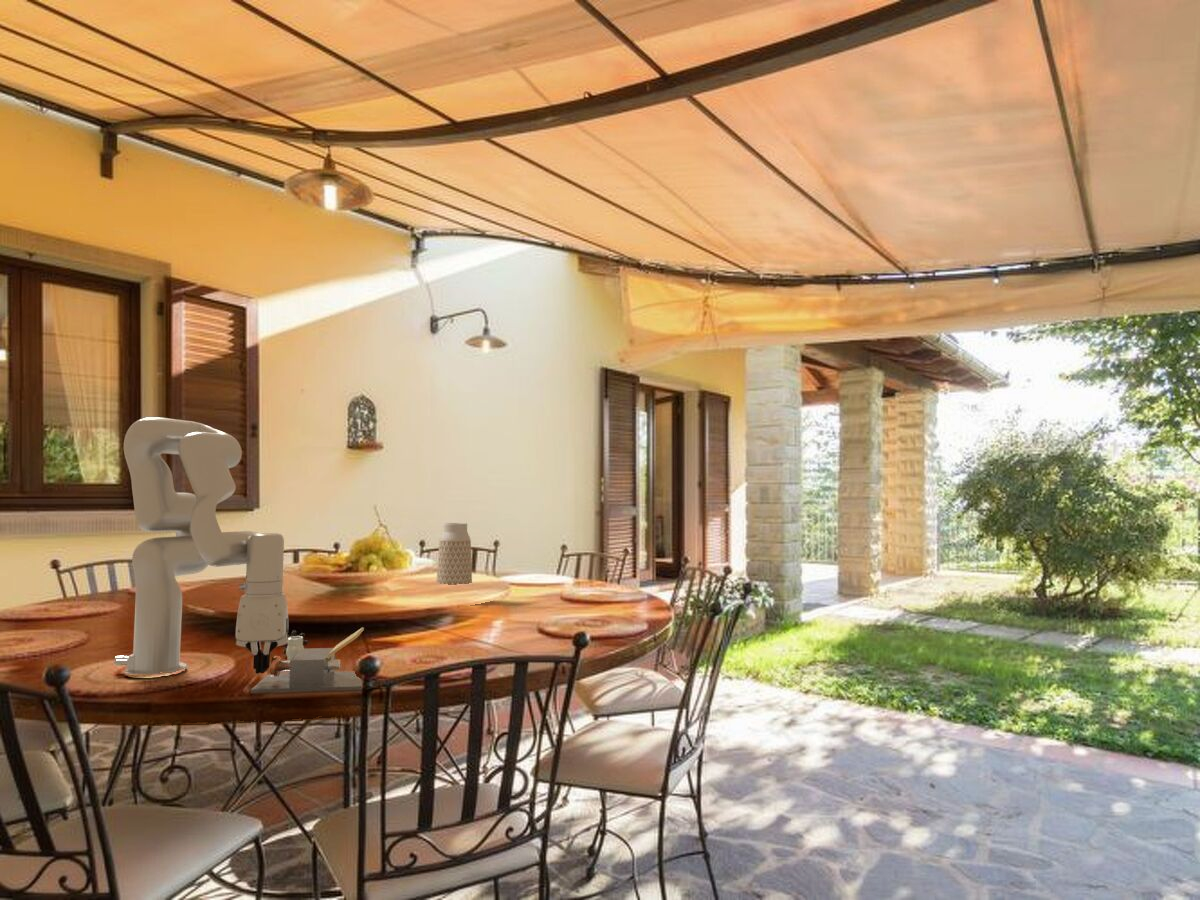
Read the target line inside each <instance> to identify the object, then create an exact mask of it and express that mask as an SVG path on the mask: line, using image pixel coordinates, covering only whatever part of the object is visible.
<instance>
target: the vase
mask: <svg viewBox="0 0 1200 900" xmlns="http://www.w3.org/2000/svg"><path fill="white" fill-rule="evenodd" d="M471 541H472V540H471V537H470V535H469V533H468V523H467V522H466V523H465V522H445V523H443V532H442V534H441V536H440V539H439V545H438V555H437V556H438V557H437V570H436V581H435V582H436V583H438V584H448V585H457V584H469V583H472V584H473V574H472V573H473V571H472V544H471V543H472V542H471Z"/></svg>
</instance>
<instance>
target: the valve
mask: <svg viewBox="0 0 1200 900" xmlns="http://www.w3.org/2000/svg"><path fill="white" fill-rule="evenodd" d="M297 633H298V631H296V630H292V632H291V635H289V634H287V637H288V643H287V644H285V645H281V646H280V648H283V647H284V648H285V649H283V651H282V653H283V654H284V655H286V658H287V661H290V660H291V659H292V658H293V657H295V656H296V655H297V654H298V653H299V652H300V651H301V650H302V649H305V647H304V646H307V645H308V644H309V643H308V640H306V639H305V640H304V638H305V633H303V632H301V633H300V634H299V635H298V634H297Z"/></svg>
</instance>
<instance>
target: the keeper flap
mask: <svg viewBox="0 0 1200 900" xmlns="http://www.w3.org/2000/svg"><path fill="white" fill-rule="evenodd" d="M364 630H365V627H363V626H362V627H361V628H360V629H358V630H357V631H355V632H354V633H352V634H350V635H349V636H347V637H346V638H345V639H343V640H342V641H340V642H339V643H337V644H336V645H335V646H334V647H332V648H333V649H332V651H331V652H330V653H329V654H328V655H327V656H326V660H329V659H330V657H331V656H332V655H333V654H334V653H335V654H336V653H337V652H338V651H339V650H341V649H343V648H344V647H346V646H347V645H349V644H350V643H352V642H353V641H355V640H356V639H357V638H358V637H359V636H360V635H361V634H362V632H363V631H364Z"/></svg>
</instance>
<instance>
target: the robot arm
mask: <svg viewBox="0 0 1200 900" xmlns="http://www.w3.org/2000/svg"><path fill="white" fill-rule="evenodd" d="M123 453H124V458H125V461H126V464H127V468H128V471H129V474H130V480H131V490H132V491H131V492H132V497H133V498H132V499H133V506H134V507H133V508H134V517H135V522H136V524H137V526H138V528H139V529H140V530H142V531H144V532H148V533H168V532H175V536H161V537H153V538H149V539H146V540H144V541H142V542H140V543H139V544H138V545H137V546H136V547H135V549H134V550H133V552H132V555H131V556H132V557H131V558H132V560H131V564H132V570H133V575H134V582H135V599H134V601H135V602H134V605H135V606H134V607H135V608H134V609H135V610H134V626H133V627H134V628H133V649H132V653H131V654H130V655H116V656H115V658H114V660H113V663H114V665H115V667H116V666H126V667H127V668H126V669H125V670H124V671H123V674H124V673H126V674H129V675H152V674H162V673H172V672H176V671H179V670H182V669H184V668H186V667H187V668H188V664H187V663H185V662H182V661H181V659H180V657H181V642H182V641H181V638H182V637H181V636H182V617H183V613H182V612H183V592H182V589H181V587H180V585H179V583H178V581H177V579H176V577H180V576H187V575H188V576H189V575H195V574H198V573H202V572H203V571H205V570H206V569H207V568H208V566H209V567H213V568H219V567H228V566H229V567H230V566H240V565H246V568H245V569H246V570H245V571H246V572H245V581H244V582H243V583H239V584H238V590H239V591H243V592H244V594H243V595H241V597H240V599H239V604H238V608H237V609H238V610H237V616H236V623H235V624H236V625H235V634H234V635H235V640H236V642H235V645H236V646H237V647H238V646H239V647H242V648H247V650H248V651H249V652H250V653H251V655H252V656H253V664H252V665H253V669H254V670H255V675H256V674H265V673H266V672H267V671H268V669H270V665H271V653H272V651H273V650H275V649H276V648H278V647H281V645H285V644H287V645H288V637H287V635H289V634H288V633H289V610H288V602H287V597H286V593H283V587H284V585H283V584H284V579H283V578H284V557H285V556H284V555H285V553H284V550H285V539H284V535H282V534H281V533H278V532H256V531H250V530H242V531H240V530H239V531H238V530H237V531H224V532H223V531H222V530H221V527H220V526H219V523H218V521H217V520H218V519H217V515H216V511H217V510H216V509H217V505H218V504H220V503H221V502H224V501H226V500H227V499H229V498H230V497H232V495H233V494H234V493H235V491H236V483H235V481H234V479H233V477H232V474H231V472H230V469H231V468H234V467H236V466H237V465H238V464H239V463H240V461H241V459H242V456H243V455H242V454H243V451H242V447H241V445H240V443H239V440H237V438H235V437H234V436H232V435H231V434H229V433H227V432H224V431H222V430H219V429H216V428H214V427H212V426H209V425H206V424H204V423H201V422H196V421H192V420H183V419H174V418H168V417H144V418H140V419H138V420H136V421H134V422H133V423H132V424H131V425H130V426H129V428H128V429H127V431H126V433H125V435H124V440H123ZM162 454H167V455H178V456H179V458H180V460H181V463H182V465H183V468H184V470H185V474H186V476H187V478H188V481H189V483H190V486H191V488H192V490H193V493H190V492H177V491H176V490H175V487H174V478H173V473H172V470H171V469H170V467H169V465H168V464H167V462H166V461H165V460H164V458H163V457H162V456H161V455H162ZM263 642H264V646H263V649H262V645H261V644H262V643H263ZM160 672H162V673H160Z"/></svg>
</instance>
